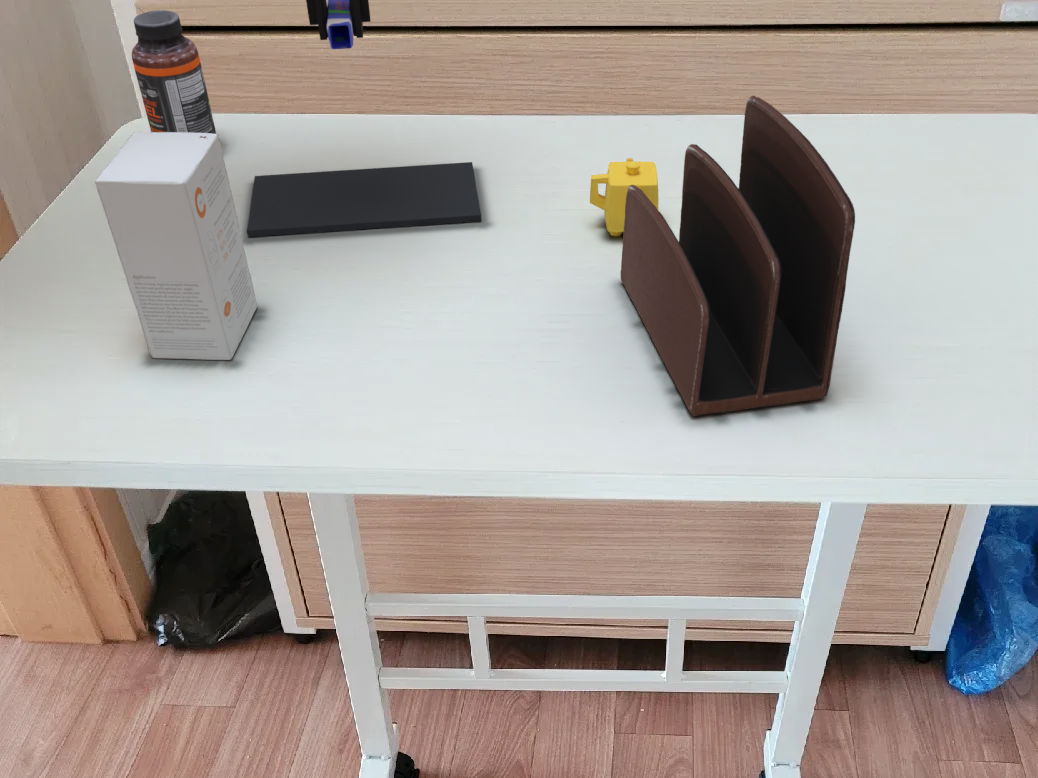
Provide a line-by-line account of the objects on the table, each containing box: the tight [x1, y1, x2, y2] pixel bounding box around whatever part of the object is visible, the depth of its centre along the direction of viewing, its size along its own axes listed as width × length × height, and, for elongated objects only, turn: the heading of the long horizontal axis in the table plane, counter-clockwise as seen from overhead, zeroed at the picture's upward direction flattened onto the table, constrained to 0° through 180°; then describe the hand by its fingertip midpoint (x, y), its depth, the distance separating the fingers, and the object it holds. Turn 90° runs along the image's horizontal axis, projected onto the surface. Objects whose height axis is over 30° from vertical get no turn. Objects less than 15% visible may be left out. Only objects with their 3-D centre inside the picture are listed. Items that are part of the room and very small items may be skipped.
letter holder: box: [620, 95, 856, 417], centre depth 77 cm, size 10×20×14 cm, turn 12°
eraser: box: [327, 0, 354, 50], centre depth 88 cm, size 2×6×2 cm, turn 5°
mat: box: [246, 161, 482, 238], centre depth 99 cm, size 20×11×1 cm, turn 96°
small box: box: [94, 131, 259, 361], centre depth 80 cm, size 8×6×13 cm
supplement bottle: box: [131, 9, 217, 134], centre depth 103 cm, size 6×6×11 cm
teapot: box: [589, 157, 659, 237], centre depth 93 cm, size 8×6×5 cm
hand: (341, 31), depth 89 cm, fingers closed on eraser, 2 cm apart
